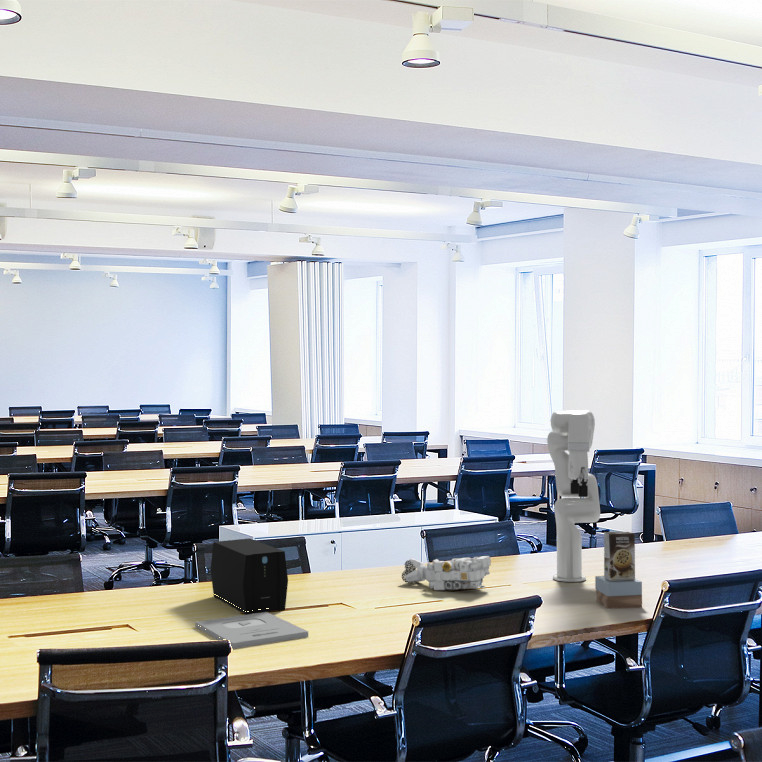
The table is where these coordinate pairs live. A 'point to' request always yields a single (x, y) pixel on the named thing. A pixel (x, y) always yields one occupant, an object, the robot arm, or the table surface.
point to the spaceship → (449, 572)
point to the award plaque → (251, 629)
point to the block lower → (619, 601)
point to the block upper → (618, 587)
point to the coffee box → (619, 556)
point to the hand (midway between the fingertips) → (579, 495)
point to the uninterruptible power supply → (249, 575)
